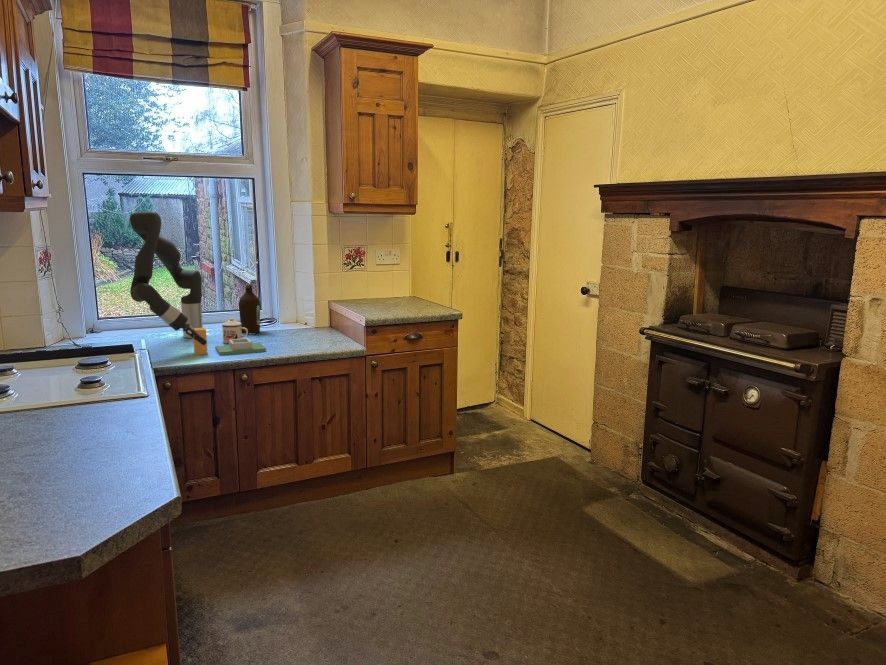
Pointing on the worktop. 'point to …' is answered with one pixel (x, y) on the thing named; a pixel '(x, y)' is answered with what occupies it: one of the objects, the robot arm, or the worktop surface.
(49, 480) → the worktop surface
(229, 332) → the teacup with lid
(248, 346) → the deck plate
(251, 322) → the olive oil
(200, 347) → the orange wooden block
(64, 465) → the worktop surface
